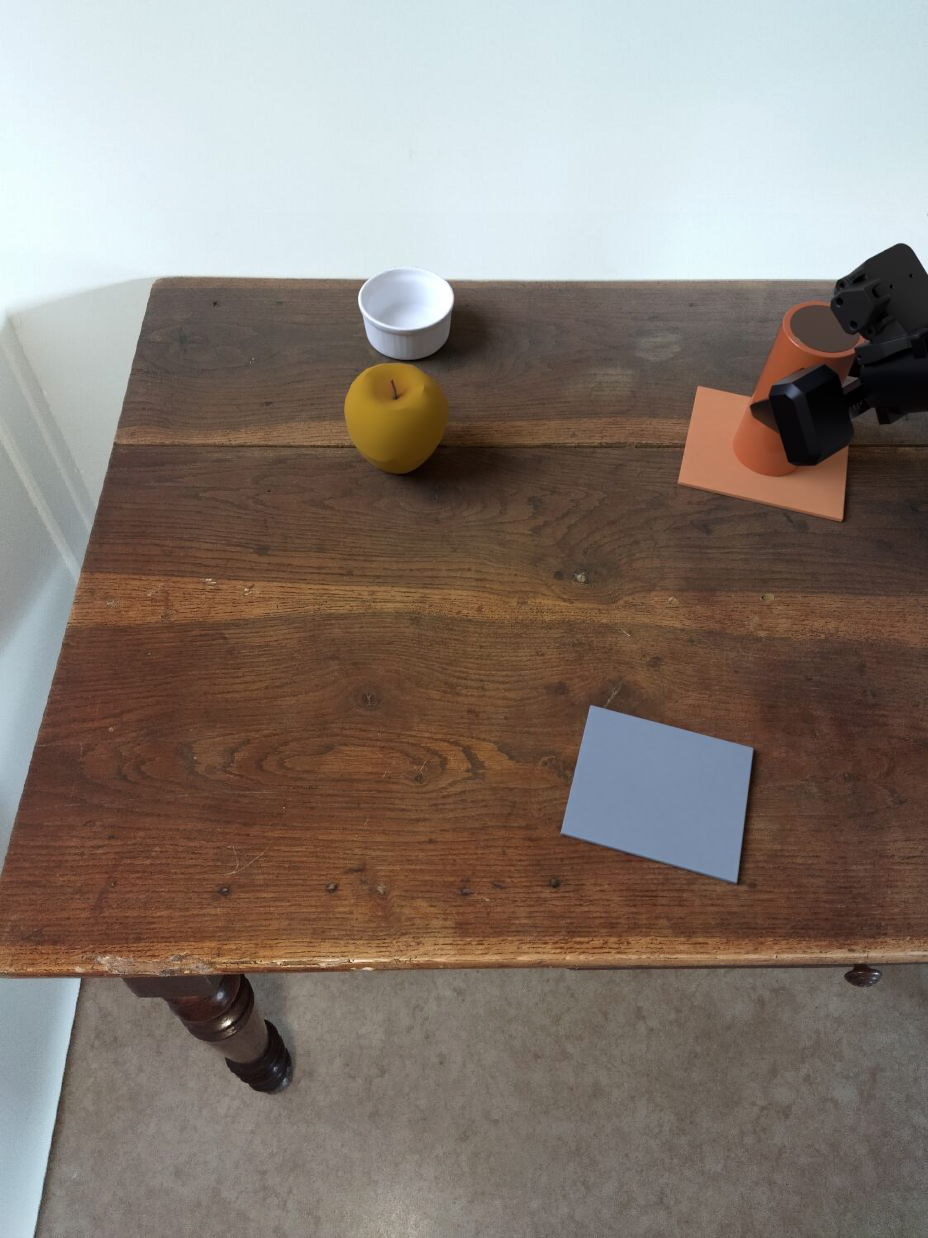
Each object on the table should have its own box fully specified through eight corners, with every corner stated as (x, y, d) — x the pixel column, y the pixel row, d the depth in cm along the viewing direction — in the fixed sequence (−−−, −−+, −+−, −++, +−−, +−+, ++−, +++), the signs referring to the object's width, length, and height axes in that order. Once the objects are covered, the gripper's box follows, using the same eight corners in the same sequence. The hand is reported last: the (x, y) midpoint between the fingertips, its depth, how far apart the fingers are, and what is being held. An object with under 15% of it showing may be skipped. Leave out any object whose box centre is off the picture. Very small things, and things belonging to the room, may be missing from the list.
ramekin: (343, 330, 85) (338, 293, 82) (412, 290, 89) (411, 252, 85) (403, 379, 82) (401, 343, 78) (472, 336, 85) (474, 299, 82)
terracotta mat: (849, 421, 81) (850, 418, 80) (841, 522, 75) (843, 519, 74) (697, 388, 82) (698, 385, 82) (677, 484, 77) (678, 481, 76)
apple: (455, 427, 79) (457, 351, 72) (437, 500, 75) (437, 428, 67) (362, 413, 80) (354, 336, 72) (339, 485, 76) (328, 411, 68)
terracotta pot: (815, 469, 77) (881, 349, 66) (749, 482, 76) (805, 362, 65) (784, 418, 80) (842, 294, 69) (721, 430, 79) (769, 306, 68)
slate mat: (752, 750, 64) (753, 747, 64) (735, 884, 59) (737, 882, 59) (589, 707, 65) (590, 704, 65) (560, 834, 60) (560, 832, 60)
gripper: (1035, 192, 59) (845, 249, 73) (842, 295, 53) (676, 335, 67) (1065, 353, 62) (878, 378, 76) (887, 467, 56) (720, 471, 70)
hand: (792, 387), depth 72 cm, fingers open, 9 cm apart
